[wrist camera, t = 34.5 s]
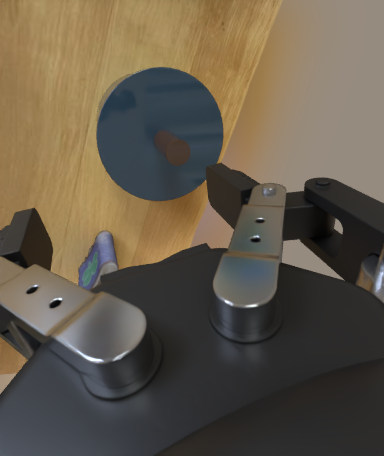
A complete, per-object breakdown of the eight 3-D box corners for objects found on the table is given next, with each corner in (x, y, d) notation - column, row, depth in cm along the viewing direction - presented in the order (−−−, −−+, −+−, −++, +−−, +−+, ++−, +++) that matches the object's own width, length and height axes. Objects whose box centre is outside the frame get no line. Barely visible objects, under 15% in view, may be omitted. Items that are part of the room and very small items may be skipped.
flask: (100, 227, 44) (106, 268, 35) (118, 234, 45) (128, 274, 37) (74, 273, 46) (74, 322, 37) (92, 278, 48) (95, 326, 39)
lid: (76, 78, 26) (76, 81, 21) (214, 57, 29) (243, 56, 24) (115, 209, 33) (122, 235, 28) (222, 182, 36) (246, 200, 31)
